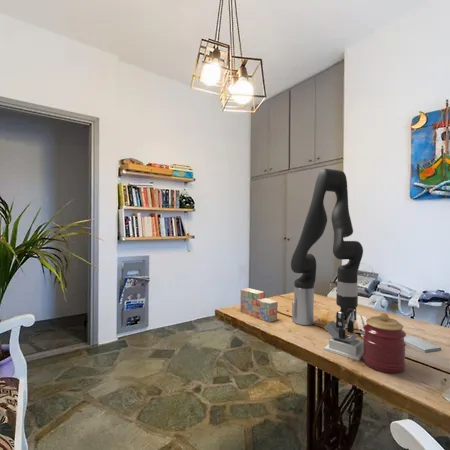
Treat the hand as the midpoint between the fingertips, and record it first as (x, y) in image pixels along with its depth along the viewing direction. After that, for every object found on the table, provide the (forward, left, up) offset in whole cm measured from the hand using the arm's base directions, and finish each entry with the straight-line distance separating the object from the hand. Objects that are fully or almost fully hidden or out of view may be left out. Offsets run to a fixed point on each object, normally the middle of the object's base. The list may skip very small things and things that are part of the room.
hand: (346, 335), depth 113 cm
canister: (+14, -2, -6) cm, 15 cm away
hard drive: (+19, +25, -6) cm, 32 cm away
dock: (0, 0, -6) cm, 6 cm away
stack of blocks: (-49, +11, -6) cm, 50 cm away
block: (+2, 0, -2) cm, 3 cm away
